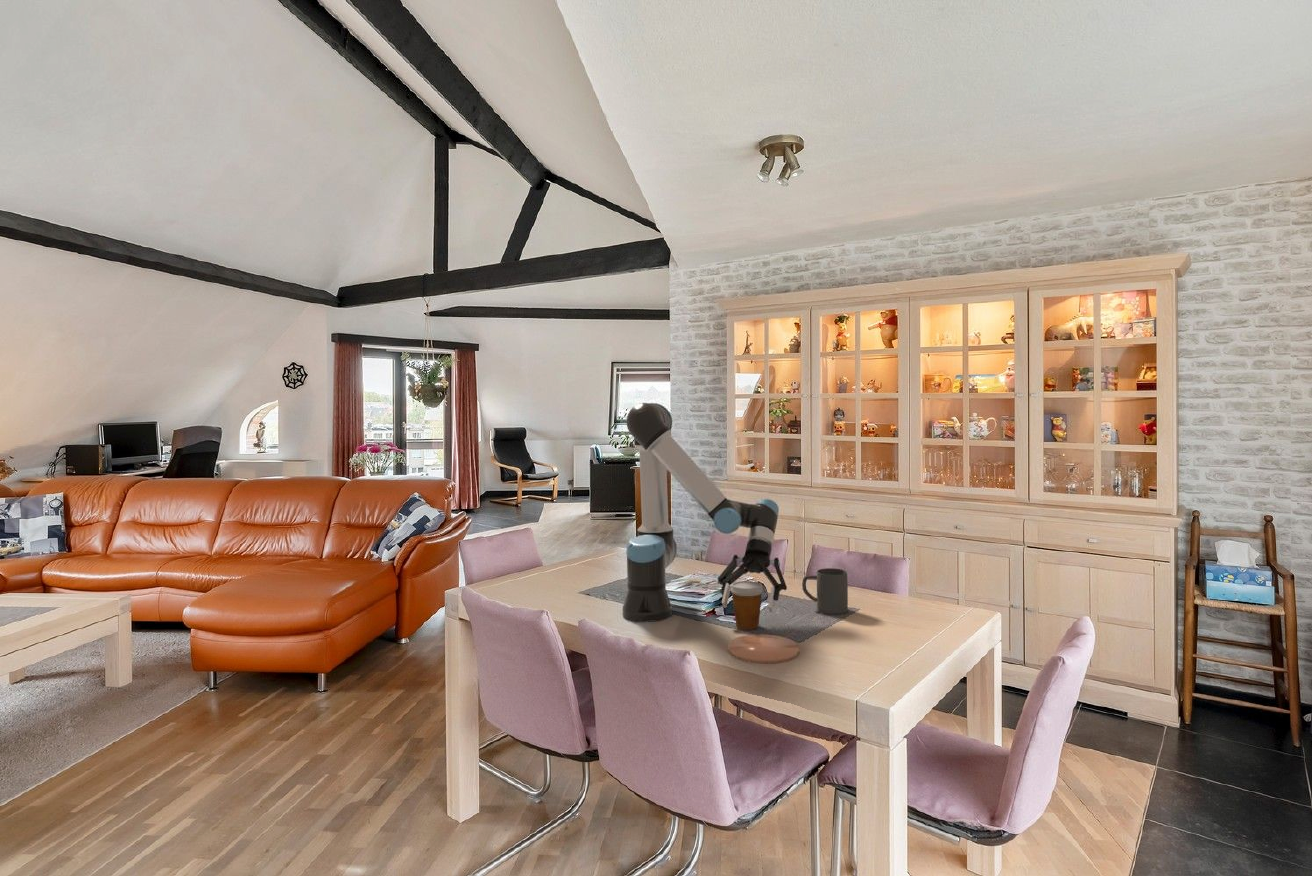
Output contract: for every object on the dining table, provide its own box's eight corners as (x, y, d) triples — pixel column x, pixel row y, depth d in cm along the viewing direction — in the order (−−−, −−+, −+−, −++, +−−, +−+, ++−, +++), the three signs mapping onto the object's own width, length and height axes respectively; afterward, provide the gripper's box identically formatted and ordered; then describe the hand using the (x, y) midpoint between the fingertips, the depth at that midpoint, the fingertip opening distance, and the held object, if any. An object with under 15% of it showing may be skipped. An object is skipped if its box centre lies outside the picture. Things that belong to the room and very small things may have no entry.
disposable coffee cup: (763, 632, 189) (762, 589, 188) (729, 630, 191) (728, 588, 190) (764, 621, 198) (764, 581, 198) (732, 620, 200) (731, 580, 200)
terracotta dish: (713, 650, 175) (713, 645, 175) (759, 634, 187) (759, 629, 187) (768, 669, 162) (768, 664, 162) (813, 650, 174) (813, 645, 174)
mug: (849, 607, 211) (848, 569, 210) (846, 616, 202) (845, 576, 202) (804, 604, 216) (804, 566, 215) (800, 612, 207) (799, 573, 207)
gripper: (802, 554, 203) (792, 618, 190) (723, 549, 213) (708, 609, 200) (798, 540, 198) (788, 604, 185) (717, 535, 208) (701, 596, 195)
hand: (746, 607), depth 193 cm, fingers open, 13 cm apart
